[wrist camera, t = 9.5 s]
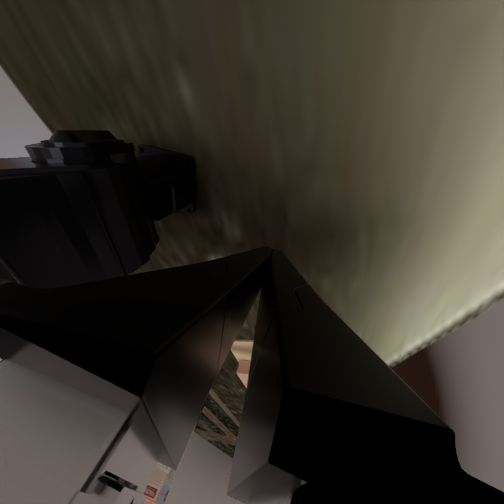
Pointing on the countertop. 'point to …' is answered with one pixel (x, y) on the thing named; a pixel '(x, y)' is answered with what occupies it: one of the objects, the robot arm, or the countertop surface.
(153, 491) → the cracker box
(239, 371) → the pink square picture frame
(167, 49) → the countertop surface
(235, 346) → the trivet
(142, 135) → the countertop surface
